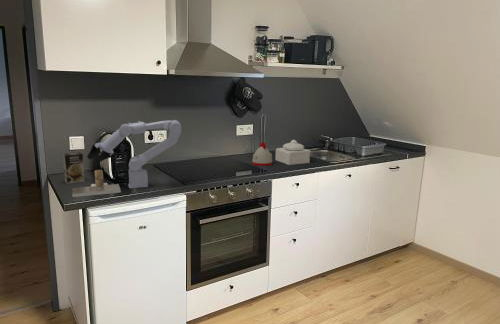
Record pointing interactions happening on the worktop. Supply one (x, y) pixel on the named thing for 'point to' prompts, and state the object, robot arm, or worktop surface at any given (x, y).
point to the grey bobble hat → (262, 156)
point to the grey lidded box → (293, 154)
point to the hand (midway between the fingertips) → (92, 159)
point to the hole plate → (96, 190)
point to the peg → (99, 177)
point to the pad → (95, 184)
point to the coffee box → (73, 167)
